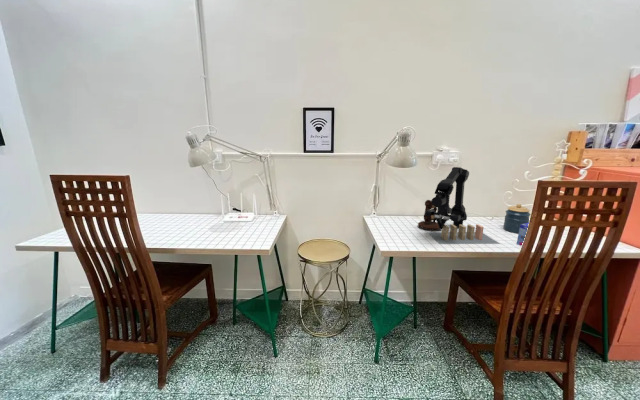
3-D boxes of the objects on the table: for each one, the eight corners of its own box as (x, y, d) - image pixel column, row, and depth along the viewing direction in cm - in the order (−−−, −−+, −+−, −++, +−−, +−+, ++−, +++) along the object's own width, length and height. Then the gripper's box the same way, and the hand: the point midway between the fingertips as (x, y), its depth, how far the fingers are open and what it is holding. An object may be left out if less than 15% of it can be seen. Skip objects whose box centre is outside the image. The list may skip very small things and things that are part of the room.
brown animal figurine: (426, 223, 188) (428, 195, 183) (446, 229, 176) (449, 199, 171) (413, 227, 180) (415, 198, 175) (433, 233, 168) (435, 203, 163)
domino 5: (479, 240, 155) (480, 227, 154) (474, 236, 160) (476, 224, 159) (481, 240, 155) (483, 227, 154) (477, 236, 160) (478, 224, 158)
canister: (526, 229, 174) (531, 203, 170) (528, 235, 163) (533, 207, 159) (502, 225, 181) (506, 200, 177) (502, 231, 170) (507, 204, 166)
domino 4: (470, 240, 156) (472, 227, 154) (466, 237, 160) (467, 224, 159) (473, 240, 156) (474, 227, 154) (468, 237, 160) (470, 224, 159)
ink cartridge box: (526, 248, 144) (531, 223, 141) (515, 244, 149) (520, 220, 146) (537, 245, 148) (542, 220, 145) (526, 241, 153) (530, 217, 150)
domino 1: (444, 240, 156) (446, 227, 154) (441, 237, 161) (442, 224, 159) (447, 240, 156) (449, 227, 154) (443, 237, 161) (445, 224, 159)
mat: (427, 232, 169) (427, 232, 169) (481, 232, 168) (481, 232, 168) (439, 244, 151) (439, 243, 151) (500, 244, 150) (500, 243, 150)
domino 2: (453, 240, 156) (454, 227, 154) (449, 237, 161) (450, 224, 159) (455, 240, 156) (457, 227, 154) (452, 237, 161) (453, 224, 159)
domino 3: (461, 240, 156) (463, 227, 154) (457, 237, 161) (459, 224, 159) (464, 240, 156) (466, 227, 154) (460, 237, 161) (461, 224, 159)
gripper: (465, 203, 152) (462, 229, 156) (433, 198, 165) (431, 222, 169) (458, 207, 145) (455, 234, 149) (425, 202, 158) (423, 226, 162)
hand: (441, 229), depth 157 cm, fingers closed
